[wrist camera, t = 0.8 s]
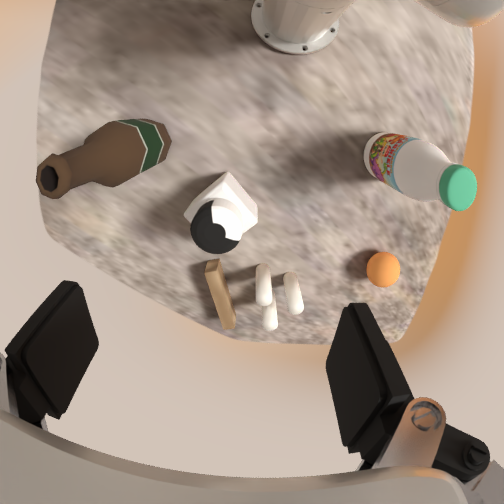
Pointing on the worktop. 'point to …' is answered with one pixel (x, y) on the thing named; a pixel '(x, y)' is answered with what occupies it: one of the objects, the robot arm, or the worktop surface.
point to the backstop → (220, 293)
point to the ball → (383, 269)
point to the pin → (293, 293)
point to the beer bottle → (105, 157)
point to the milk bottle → (419, 170)
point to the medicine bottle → (221, 215)
